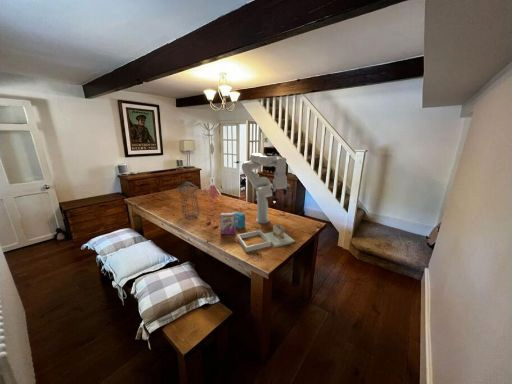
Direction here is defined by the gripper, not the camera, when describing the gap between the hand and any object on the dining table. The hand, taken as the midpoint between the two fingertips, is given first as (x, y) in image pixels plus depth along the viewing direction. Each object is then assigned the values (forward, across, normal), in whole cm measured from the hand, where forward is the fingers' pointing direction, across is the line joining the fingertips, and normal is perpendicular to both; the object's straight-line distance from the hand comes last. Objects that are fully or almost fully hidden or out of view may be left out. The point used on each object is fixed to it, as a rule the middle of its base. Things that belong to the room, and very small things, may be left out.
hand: (279, 195), depth 153 cm
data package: (+30, -29, +17) cm, 45 cm away
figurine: (+31, -45, +31) cm, 63 cm away
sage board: (+29, -7, -14) cm, 33 cm away
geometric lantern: (+32, -64, +51) cm, 88 cm away
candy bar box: (+30, -39, +9) cm, 50 cm away
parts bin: (+29, -26, -12) cm, 41 cm away
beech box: (+28, -7, -14) cm, 32 cm away
